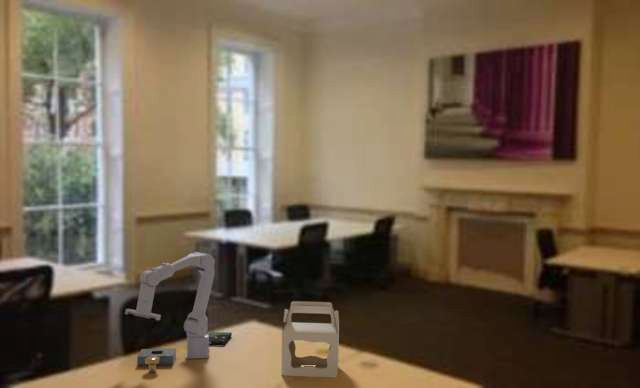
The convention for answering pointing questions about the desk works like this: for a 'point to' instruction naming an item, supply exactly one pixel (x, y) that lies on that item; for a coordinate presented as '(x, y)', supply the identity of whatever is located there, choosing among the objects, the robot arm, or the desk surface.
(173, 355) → the block
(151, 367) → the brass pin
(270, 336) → the desk surface
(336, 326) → the gable box
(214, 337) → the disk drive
